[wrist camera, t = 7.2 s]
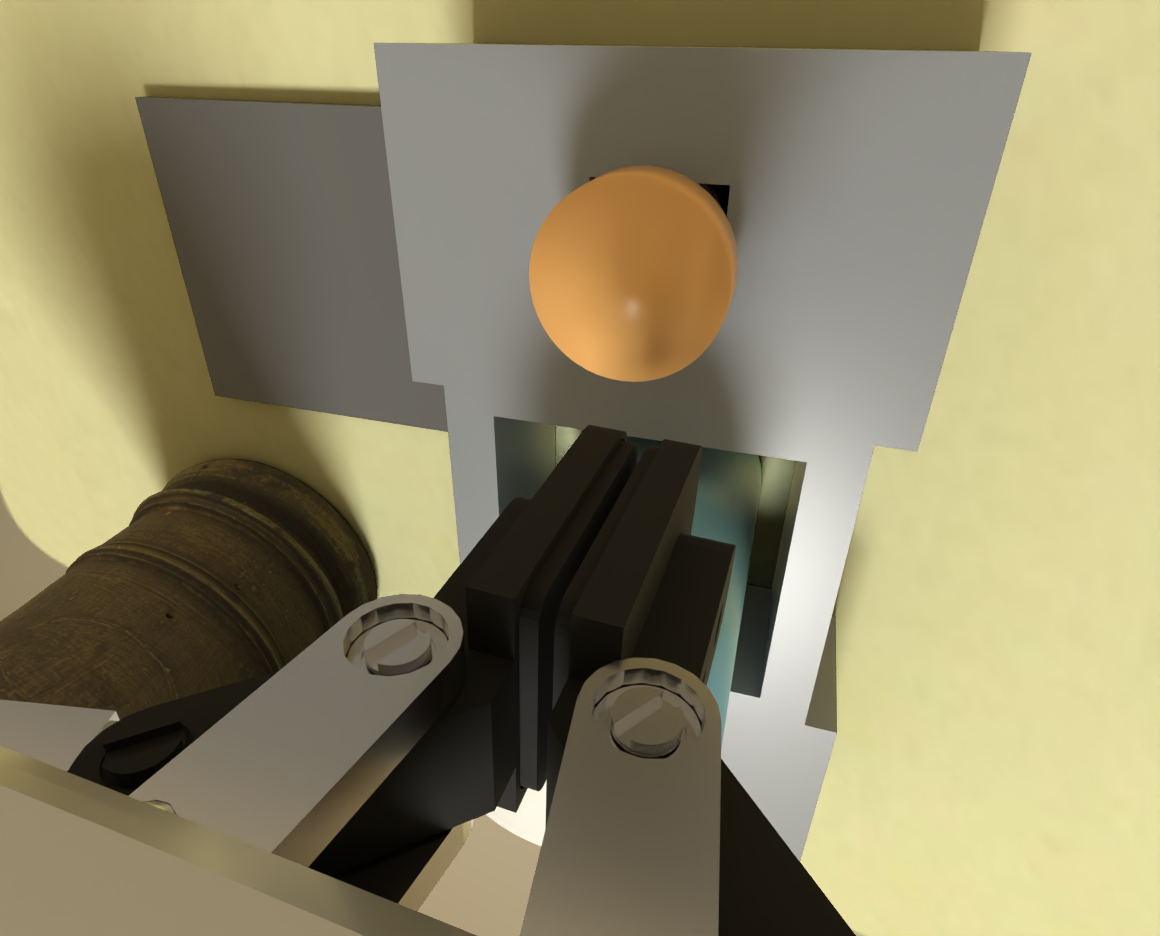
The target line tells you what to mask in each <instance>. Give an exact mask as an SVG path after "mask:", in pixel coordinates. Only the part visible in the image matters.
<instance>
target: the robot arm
mask: <svg viewBox="0 0 1160 936" xmlns="http://www.w3.org/2000/svg"><path fill="white" fill-rule="evenodd" d="M638 451H639V449H638V444H636V443H631V442H627V434H626V432H625V431H620V430H615V429H609V428H604V427H599V426H594V425H588V426H587V427H586V428H585V429H584V430H583V432H582V433H581V434H580V436H579V437H578V438H577V440H576V441H575V442H574V443H573V445H572V446H571V447H570V449H569V450H568V451H567V453H566V454H565V455H564V457H563V458H562V459H561V461H560V462H559V463H558V465H557V466H556V467H555V469H554V470H553V471H552V473H551V474H550V475H549V477H548V478H547V479H546V481H545V482H544V483H543V484H542V486H541V487H540V488H539V490H538V491H537V492H536V494H535V495H534V496H533V498H532V499H526V498H522V497H518V498H514V499H513V500H512V501H511V502H510V503H509V504H508V505H507V507H506V508H505V509H504V510H503V512H502V513H501V514H500V515H499V517H498V518H497V519H496V521H495V522H494V523H493V524H492V526H491V527H490V528H489V529H488V531H487V532H486V533H485V534H484V536H483V537H482V538H481V539H480V541H479V542H478V543H477V544H476V546H475V547H474V548H473V549H472V551H471V552H470V553H469V554H468V556H467V557H466V558H465V559H464V561H463V562H462V563H461V564H460V566H459V567H458V568H457V569H456V571H455V572H454V573H453V574H452V576H451V577H450V578H449V579H448V581H447V582H446V583H445V584H444V586H443V587H442V588H441V589H440V591H439V592H438V593H437V594H436V596H435V597H434V598H430V597H426V596H422V595H408V594H400V595H394V596H388V597H381V598H379V599H376V600H373V601H371V602H368V603H365V604H363V605H361V606H360V607H358V608H357V609H355V610H353V611H352V612H350V613H349V614H347V615H346V616H345V617H344V618H342V619H341V620H340V621H339V622H338V623H336V624H335V625H334V626H333V627H331V628H330V629H329V630H328V631H327V632H325V633H324V634H323V635H322V636H321V637H319V638H318V639H317V640H316V641H315V642H313V643H312V644H311V645H310V646H309V647H307V648H306V649H305V650H304V651H303V652H301V653H300V654H299V655H298V656H297V657H295V658H294V659H293V660H292V661H290V662H289V663H288V664H287V665H286V666H284V667H283V668H282V669H281V670H278V671H274V672H271V673H267V674H264V675H260V676H257V677H253V678H250V679H246V680H243V681H239V682H236V683H232V684H229V685H225V686H222V687H218V688H215V689H211V690H208V691H204V692H201V693H197V694H194V695H190V696H187V697H183V698H180V699H176V700H173V701H169V702H166V703H162V704H159V705H155V706H152V707H149V708H146V709H144V710H141V711H139V712H136V713H133V714H131V715H128V716H126V717H124V718H123V719H121V720H120V719H119V717H118V715H117V712H116V711H111V710H101V709H91V708H81V707H71V706H61V705H51V704H41V703H31V702H20V701H10V700H0V936H476V935H474V934H471V933H469V932H466V931H464V930H462V929H459V928H456V927H454V926H451V925H449V924H447V923H444V922H442V921H439V920H437V919H434V918H432V917H429V916H427V915H424V914H422V913H419V912H417V911H418V910H419V908H420V907H421V906H422V904H423V903H424V901H425V900H426V898H427V897H428V896H429V894H430V893H431V891H432V890H433V888H434V887H435V885H436V884H437V883H438V881H439V880H440V878H441V877H442V876H443V874H444V873H445V871H446V870H447V868H448V867H449V866H450V864H451V863H452V861H453V860H454V858H455V857H456V856H457V854H458V852H459V851H460V850H461V848H462V847H463V845H464V844H465V842H466V840H467V838H468V836H469V834H470V832H471V830H472V824H473V819H475V818H478V817H480V816H483V815H485V814H488V813H490V812H493V811H495V809H496V807H500V808H503V809H506V810H509V811H512V812H515V813H516V812H517V810H518V808H519V806H520V804H521V802H522V799H523V797H524V795H525V793H526V791H527V789H528V788H529V789H532V790H535V791H540V790H541V789H542V788H543V786H544V784H545V782H546V780H547V782H546V827H545V828H546V829H545V833H544V838H543V842H542V846H541V850H540V854H539V858H538V863H537V867H536V871H535V875H534V879H533V883H532V888H531V892H530V896H529V900H528V904H527V908H526V912H525V917H524V921H523V925H522V929H521V933H520V936H856V935H855V934H854V933H853V931H852V930H851V929H850V927H849V926H848V925H847V923H846V922H845V921H844V919H843V918H842V917H841V915H840V914H839V913H838V911H837V910H836V909H835V908H834V906H833V905H832V904H831V902H830V901H829V900H828V898H827V897H826V896H825V894H824V893H823V892H822V890H821V889H820V888H819V886H818V885H817V884H816V883H815V881H814V880H813V879H812V877H811V876H810V875H809V873H808V872H807V871H806V869H805V868H804V867H803V865H802V864H801V863H800V861H799V860H798V859H797V857H796V856H795V855H794V854H793V852H792V851H791V850H790V848H789V847H788V846H787V844H786V843H785V842H784V840H783V839H782V838H781V836H780V835H779V834H778V832H777V831H776V830H775V829H774V827H773V826H772V825H771V823H770V822H769V821H768V819H767V818H766V817H765V815H764V814H763V813H762V811H761V810H760V809H759V807H758V806H757V805H756V803H755V802H754V801H753V800H752V798H751V797H750V796H749V794H748V793H747V792H746V790H745V789H744V788H743V786H742V785H741V784H740V782H739V781H738V780H737V778H736V777H735V776H734V774H733V773H732V772H731V771H730V769H729V768H728V767H727V765H726V764H725V763H724V761H723V760H722V759H721V733H722V722H721V716H720V711H719V705H718V703H717V701H716V700H715V698H714V696H713V695H712V693H711V691H710V689H709V688H708V687H707V682H708V678H709V674H710V670H711V666H712V662H713V658H714V654H715V650H716V646H717V642H718V638H719V633H720V629H721V624H722V620H723V615H724V610H725V605H726V600H727V595H728V590H729V584H730V579H731V573H732V568H733V562H734V556H735V550H736V545H733V544H729V543H724V542H720V541H715V540H711V539H706V538H702V537H697V536H693V535H691V532H692V525H693V518H694V510H695V503H696V496H697V489H698V482H699V475H700V468H701V461H702V446H700V445H694V444H689V443H684V442H678V441H673V440H668V439H664V440H663V441H662V443H661V445H660V447H659V448H657V447H652V446H647V448H646V449H645V451H644V453H643V455H642V456H641V458H640V460H639V462H638Z"/></svg>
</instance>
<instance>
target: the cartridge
mask: <svg viewBox="0 0 1160 936" xmlns="http://www.w3.org/2000/svg"><path fill="white" fill-rule="evenodd" d="M627 442H631V443H636V444H638V449H639V451H638V462H639V460H640V458H641V456H642V455H643V453H644V451H645V449H646V448H647V446H652V447H657V448H659V447H660V445H661V443H662V441H659V440H652V439H645V438H638V437H632V436H627ZM761 484H762V470H761V463H760V459H759V455H753V454H746V453H740V452H733V451H726V450H719V449H713V448H706V447H702V461H701V468H700V475H699V482H698V489H697V496H696V503H695V510H694V518H693V525H692V532H691V535H693V536H697V537H702V538H706V539H711V540H715V541H720V542H724V543H729V544H733V545H736V550H735V556H734V562H733V568H732V573H731V579H730V584H729V590H728V595H727V600H726V605H725V610H724V615H723V620H722V624H721V629H720V633H719V638H718V642H717V646H716V650H715V654H714V658H713V662H712V666H711V670H710V674H709V678H708V682H707V687H708V688H709V689H710V691H711V693H712V695H713V696H714V698H715V700H716V701H717V703H718V705H719V711H720V716H721V722H722V733H721V748H722V742H723V735H724V729H725V722H726V716H727V709H728V702H729V696H730V689H731V683H732V676H733V670H734V663H735V656H736V650H737V643H738V637H739V630H740V624H741V617H742V611H743V604H744V597H745V591H746V584H747V578H748V571H749V565H750V558H751V551H752V545H753V538H754V532H755V525H756V519H757V512H758V505H759V499H760V492H761ZM546 782H547V780H546ZM546 782H545V784H544V786H543V788H542V789H541V790H540V791H535V790H532V789H529V788H528V789H527V791H526V793H525V795H524V797H523V799H522V802H521V804H520V806H519V808H518V810H517V812H516V813H515V812H512V811H509V810H506V809H503V808H500V807H496V809H495V811H493V812H490V813H488V814H486V815H487V816H489V817H490V818H491V819H492V820H494V821H495V822H496V823H498V824H499V825H501V826H502V827H504V828H505V829H507V830H509V831H510V832H512V833H514V834H515V835H517V836H519V837H521V838H523V839H525V840H527V841H530V842H532V843H534V844H537V845H539V846H542V842H543V838H544V833H545V829H546V828H545V827H546Z"/></svg>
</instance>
